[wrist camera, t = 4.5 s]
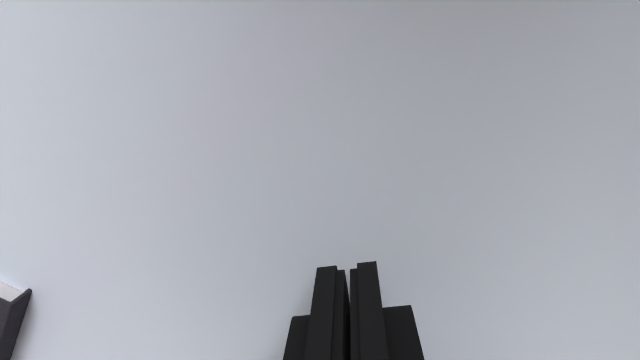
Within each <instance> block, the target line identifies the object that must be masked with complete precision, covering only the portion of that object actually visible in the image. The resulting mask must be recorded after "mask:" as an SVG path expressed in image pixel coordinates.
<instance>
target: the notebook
mask: <svg viewBox="0 0 640 360" xmlns="http://www.w3.org/2000/svg"><path fill="white" fill-rule="evenodd" d="M31 292H32V290H31V289H28V290H26V291H25V292H24V291H22V290H19V289H17V288H15V287H13V286H10V285H8V284H6V283H4V282H2V281H0V360H10V358H11V355H12V352H13V348H14V345H15V342H16V339H17V336H18V333H19V330H20V327H21V324H22V320H23V317H24V314H25V311H26V308H27V305H28V302H29V299H30V296H31Z"/></svg>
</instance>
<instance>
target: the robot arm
mask: <svg viewBox="0 0 640 360" xmlns="http://www.w3.org/2000/svg"><path fill="white" fill-rule="evenodd" d="M283 360H424V356H423V352H422V348H421V344H420V340H419V336H418V332H417V328H416V323H415V319H414V315H413V311H412V308H411V305H406V306H396V307H386V308H382V302H381V294H380V287H379V279H378V272H377V264H376V261H374V262H364V263H357V269H350V301H349V294H348V288H347V282H346V275H345V270H338V269H337V266H328V267H319V268H317V272H316V279H315V285H314V292H313V299H312V306H311V313H310V315H304V316H294V317H292V320H291V324H290V329H289V333H288V338H287V343H286V347H285V352H284V357H283Z"/></svg>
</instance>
